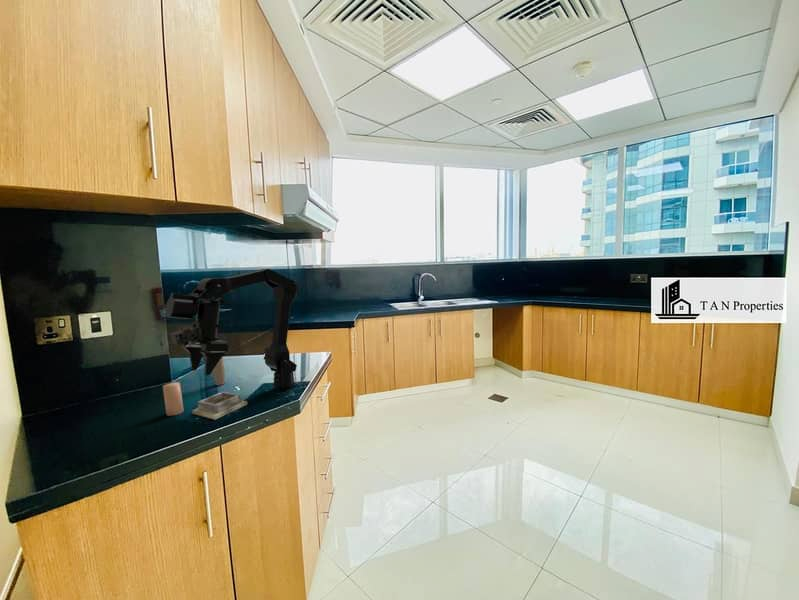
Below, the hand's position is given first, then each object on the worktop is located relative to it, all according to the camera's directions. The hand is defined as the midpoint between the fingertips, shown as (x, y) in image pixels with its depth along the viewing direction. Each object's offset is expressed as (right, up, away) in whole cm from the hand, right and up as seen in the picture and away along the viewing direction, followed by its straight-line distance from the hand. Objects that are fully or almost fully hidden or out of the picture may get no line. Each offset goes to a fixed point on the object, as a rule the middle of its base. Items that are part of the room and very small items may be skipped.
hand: (200, 372), depth 96 cm
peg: (-12, -14, +6) cm, 19 cm away
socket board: (+2, -13, +7) cm, 15 cm away
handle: (-11, -11, +30) cm, 34 cm away
